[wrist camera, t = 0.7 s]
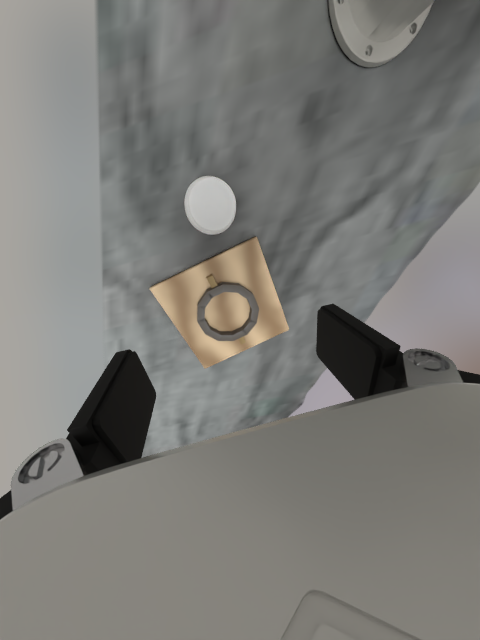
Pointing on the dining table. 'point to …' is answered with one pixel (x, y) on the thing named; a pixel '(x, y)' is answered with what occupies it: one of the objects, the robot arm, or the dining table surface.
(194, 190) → the pill bottle
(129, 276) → the dining table surface
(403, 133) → the dining table surface
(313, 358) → the dining table surface
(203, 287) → the socket board
